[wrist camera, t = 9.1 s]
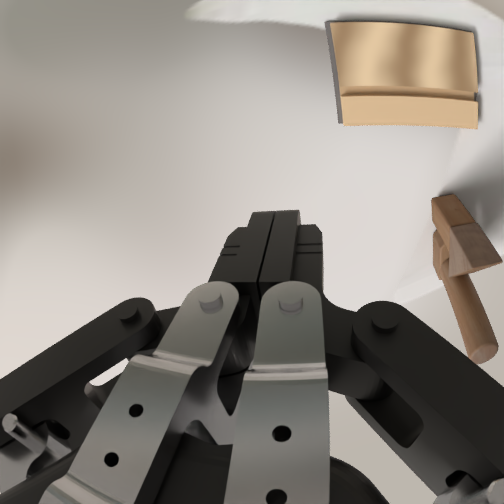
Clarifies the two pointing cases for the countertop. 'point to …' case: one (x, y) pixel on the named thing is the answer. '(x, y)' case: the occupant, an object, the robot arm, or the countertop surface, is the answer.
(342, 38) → the board
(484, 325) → the wooden block
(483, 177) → the countertop surface
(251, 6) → the countertop surface
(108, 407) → the robot arm
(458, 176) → the countertop surface
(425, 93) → the floor section
